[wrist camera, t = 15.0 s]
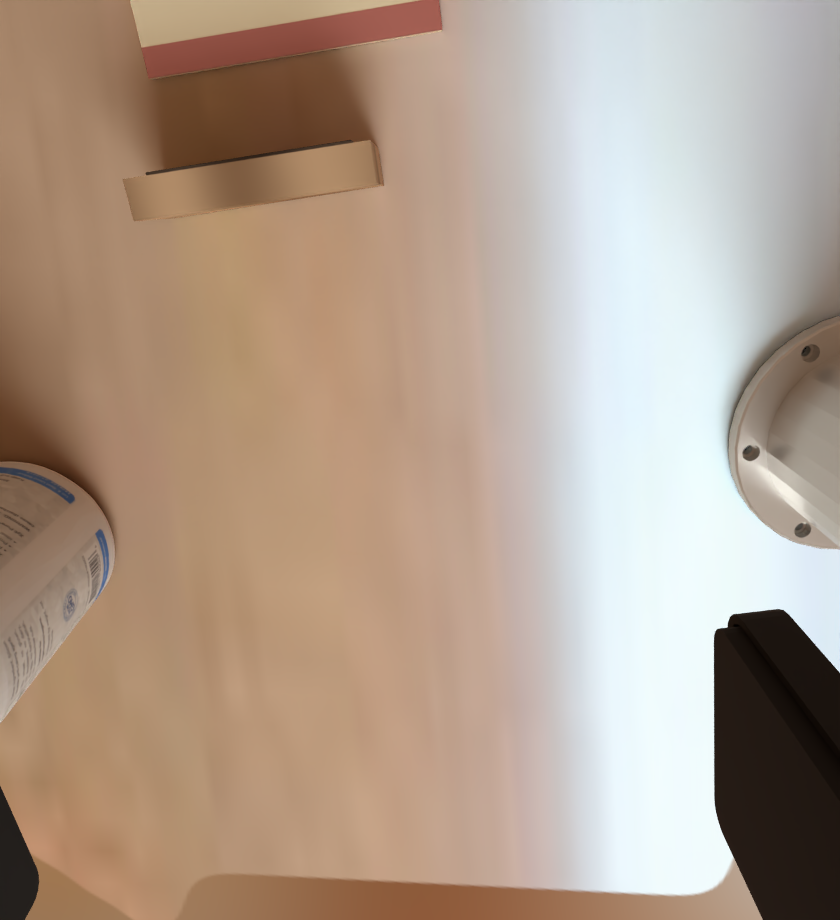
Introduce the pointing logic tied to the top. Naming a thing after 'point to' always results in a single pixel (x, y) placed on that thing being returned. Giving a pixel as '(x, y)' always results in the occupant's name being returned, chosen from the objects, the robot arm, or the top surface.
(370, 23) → the notepad
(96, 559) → the supplement tub
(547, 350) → the top surface
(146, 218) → the tan rectangular block
